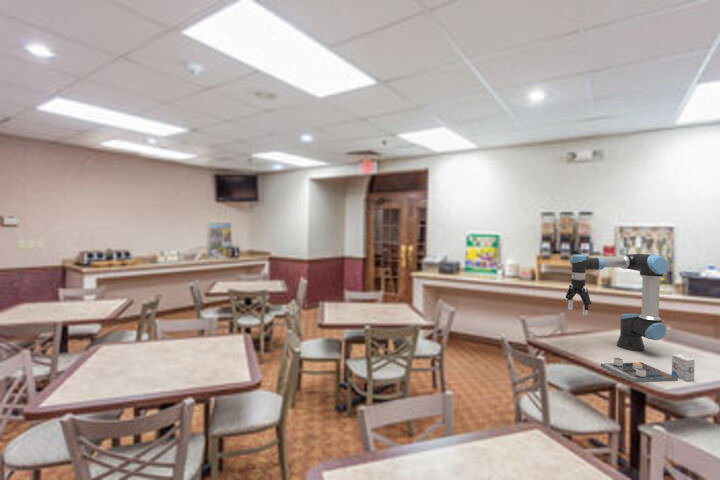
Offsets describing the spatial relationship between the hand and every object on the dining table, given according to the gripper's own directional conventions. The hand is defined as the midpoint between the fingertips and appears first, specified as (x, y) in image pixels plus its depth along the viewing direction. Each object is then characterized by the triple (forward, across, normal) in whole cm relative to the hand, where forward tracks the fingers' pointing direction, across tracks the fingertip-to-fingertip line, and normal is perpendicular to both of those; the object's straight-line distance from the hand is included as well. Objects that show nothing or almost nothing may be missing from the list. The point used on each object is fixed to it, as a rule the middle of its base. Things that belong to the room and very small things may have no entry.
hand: (577, 312), depth 224 cm
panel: (+28, +27, +16) cm, 42 cm away
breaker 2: (+26, +35, +11) cm, 45 cm away
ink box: (+28, +35, +36) cm, 57 cm away
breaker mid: (+26, +27, +16) cm, 41 cm away
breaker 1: (+26, +20, +11) cm, 35 cm away
